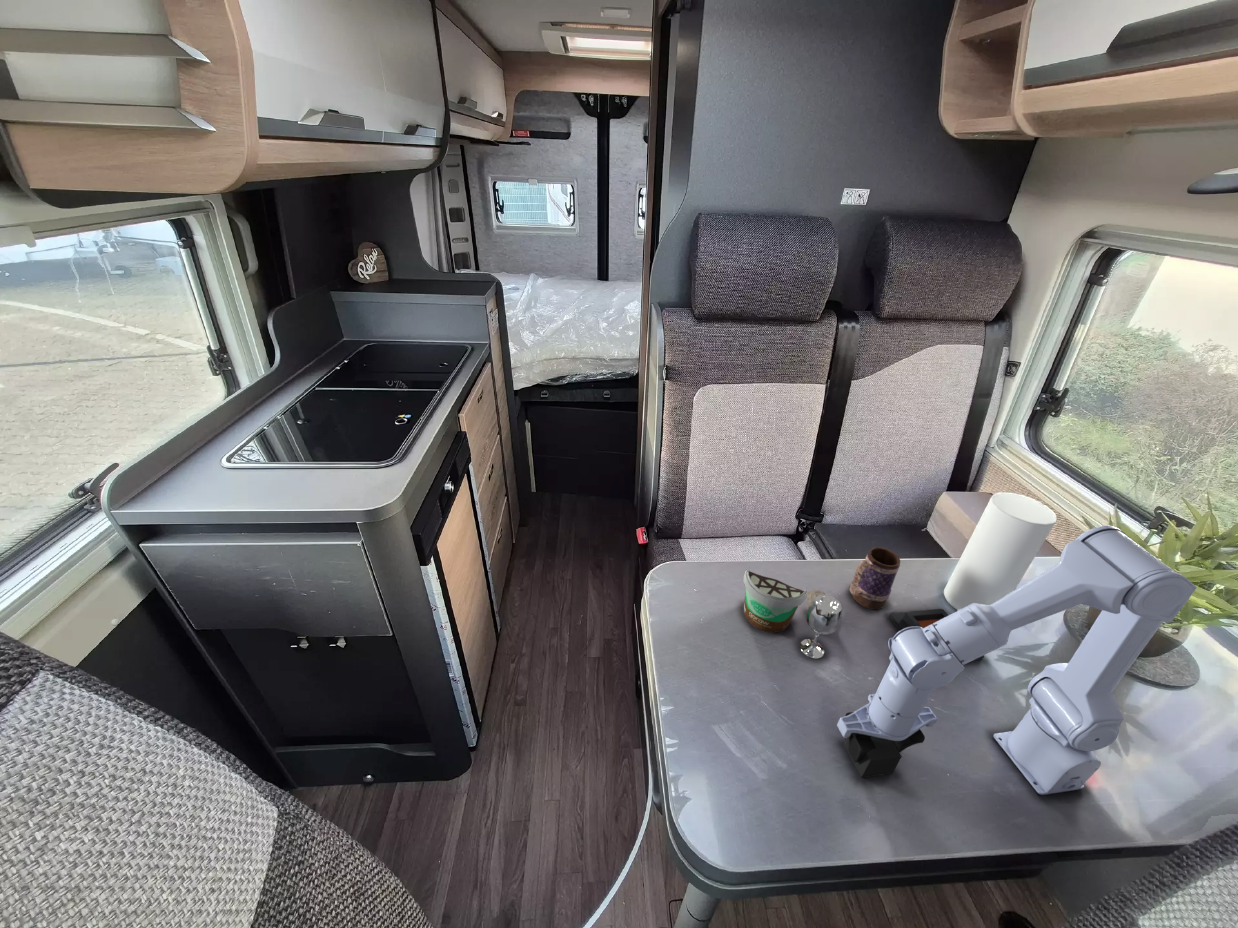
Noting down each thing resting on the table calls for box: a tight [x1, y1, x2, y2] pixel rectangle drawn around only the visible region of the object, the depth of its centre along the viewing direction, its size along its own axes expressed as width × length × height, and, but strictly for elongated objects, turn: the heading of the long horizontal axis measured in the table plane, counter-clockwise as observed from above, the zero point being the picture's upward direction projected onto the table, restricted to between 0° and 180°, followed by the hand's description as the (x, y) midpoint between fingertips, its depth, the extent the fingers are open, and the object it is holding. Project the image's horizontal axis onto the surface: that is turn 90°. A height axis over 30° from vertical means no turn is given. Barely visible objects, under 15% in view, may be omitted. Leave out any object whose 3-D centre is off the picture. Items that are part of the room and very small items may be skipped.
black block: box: [843, 736, 903, 778], centre depth 81 cm, size 5×5×5 cm
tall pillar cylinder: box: [943, 491, 1058, 611], centre depth 107 cm, size 11×11×25 cm
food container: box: [743, 567, 808, 633], centre depth 102 cm, size 12×6×10 cm, turn 62°
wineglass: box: [799, 594, 843, 660], centre depth 97 cm, size 6×6×12 cm
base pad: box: [888, 608, 985, 662], centre depth 103 cm, size 12×12×3 cm
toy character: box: [806, 589, 827, 609], centre depth 106 cm, size 4×8×6 cm, turn 13°
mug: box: [849, 546, 901, 610], centre depth 109 cm, size 10×7×12 cm
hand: (870, 753), depth 81 cm, fingers closed on black block, 5 cm apart
